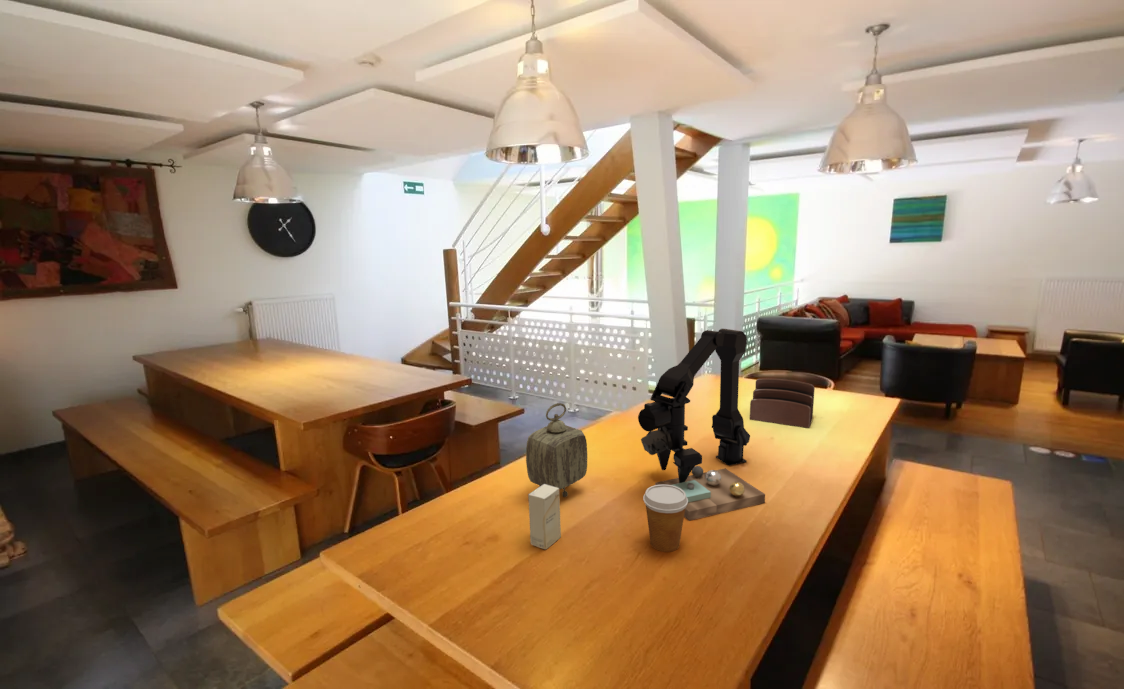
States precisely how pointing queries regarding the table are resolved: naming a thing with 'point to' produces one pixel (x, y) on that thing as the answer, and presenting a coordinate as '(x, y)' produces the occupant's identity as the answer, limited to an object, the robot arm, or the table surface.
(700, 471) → the matte grey ball
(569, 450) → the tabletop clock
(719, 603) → the table surface
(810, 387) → the letter holder
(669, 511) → the disposable coffee cup
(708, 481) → the steel ball
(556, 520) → the skincare box
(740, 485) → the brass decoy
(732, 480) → the board
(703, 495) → the cover
